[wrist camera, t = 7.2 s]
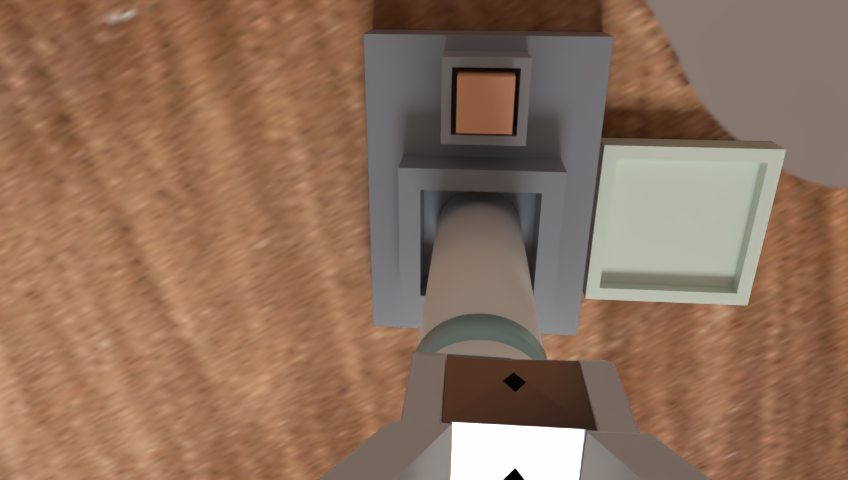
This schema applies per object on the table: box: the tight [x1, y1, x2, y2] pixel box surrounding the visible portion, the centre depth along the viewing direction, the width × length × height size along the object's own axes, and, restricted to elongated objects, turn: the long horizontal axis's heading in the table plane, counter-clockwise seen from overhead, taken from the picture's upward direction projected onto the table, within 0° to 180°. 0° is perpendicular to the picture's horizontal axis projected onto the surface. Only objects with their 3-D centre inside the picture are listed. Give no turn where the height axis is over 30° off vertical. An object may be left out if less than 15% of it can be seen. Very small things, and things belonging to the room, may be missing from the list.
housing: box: [364, 29, 613, 335], centre depth 36 cm, size 13×18×6 cm
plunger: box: [456, 67, 516, 134], centre depth 31 cm, size 3×3×3 cm
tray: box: [582, 138, 786, 305], centre depth 37 cm, size 10×10×2 cm
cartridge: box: [415, 191, 547, 360], centre depth 28 cm, size 5×5×17 cm
